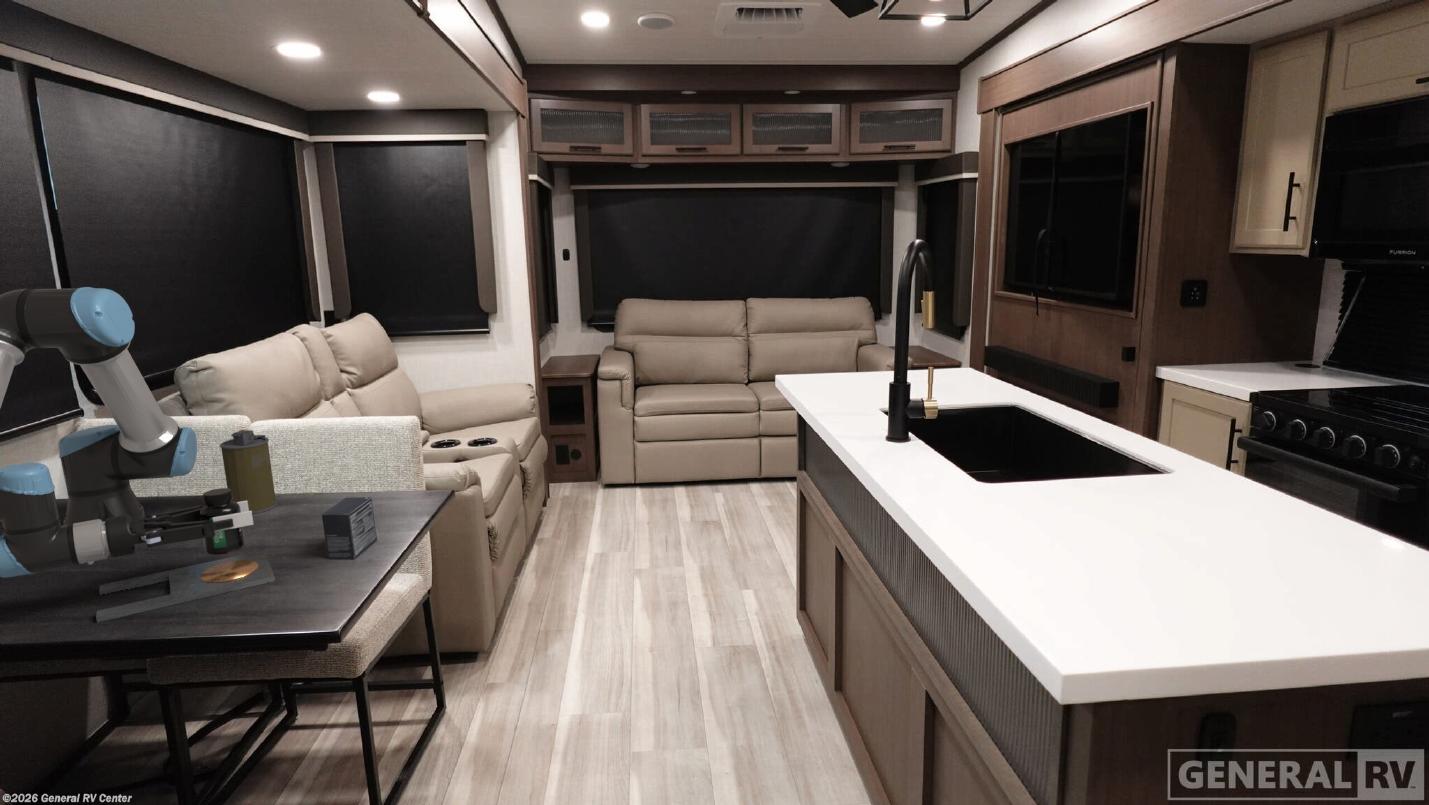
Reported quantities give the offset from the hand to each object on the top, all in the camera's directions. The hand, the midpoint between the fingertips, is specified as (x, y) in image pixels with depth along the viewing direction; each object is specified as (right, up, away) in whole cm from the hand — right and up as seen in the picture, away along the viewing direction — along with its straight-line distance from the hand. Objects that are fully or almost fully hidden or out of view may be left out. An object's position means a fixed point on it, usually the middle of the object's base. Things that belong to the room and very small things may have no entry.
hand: (250, 512), depth 155 cm
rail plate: (-10, -14, -4) cm, 17 cm away
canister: (-23, -5, +39) cm, 45 cm away
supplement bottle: (-4, -7, -1) cm, 8 cm away
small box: (+15, -10, +13) cm, 22 cm away
